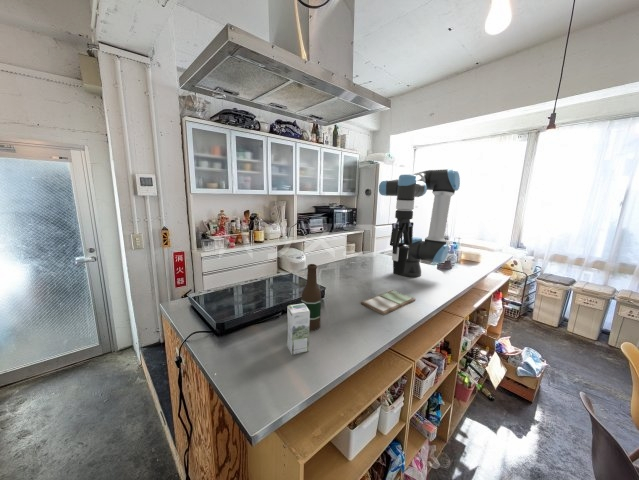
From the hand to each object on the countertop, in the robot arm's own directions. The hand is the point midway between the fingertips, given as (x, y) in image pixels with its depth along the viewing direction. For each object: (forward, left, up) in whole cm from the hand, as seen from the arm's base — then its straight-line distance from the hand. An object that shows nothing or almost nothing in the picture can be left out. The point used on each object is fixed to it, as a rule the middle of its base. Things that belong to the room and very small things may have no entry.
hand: (399, 259), depth 118 cm
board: (+6, 0, -20) cm, 21 cm away
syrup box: (+60, +4, -20) cm, 63 cm away
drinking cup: (0, 0, -7) cm, 7 cm away
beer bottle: (+48, -5, -20) cm, 52 cm away
